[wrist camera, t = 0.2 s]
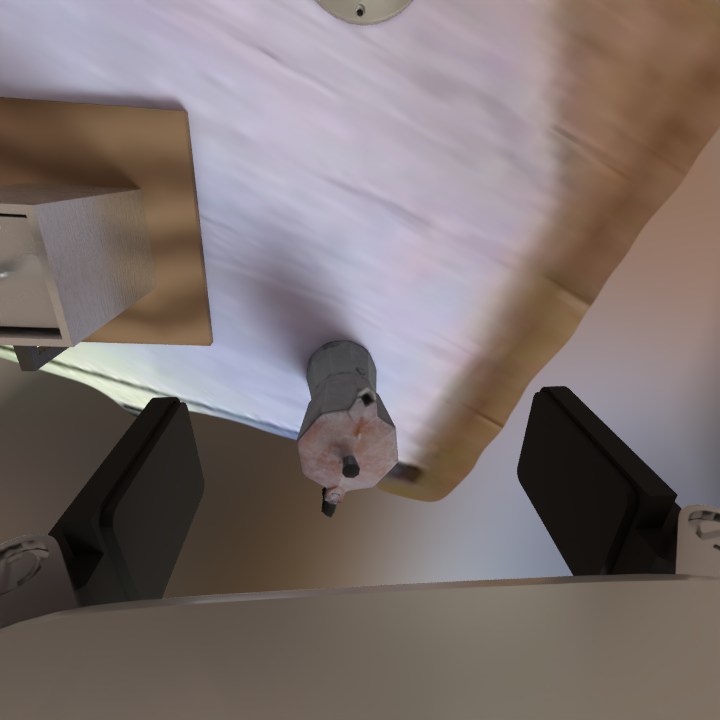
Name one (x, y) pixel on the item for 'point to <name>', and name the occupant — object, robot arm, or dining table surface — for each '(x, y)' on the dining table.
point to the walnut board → (123, 170)
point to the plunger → (22, 278)
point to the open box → (80, 260)
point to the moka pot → (345, 424)
